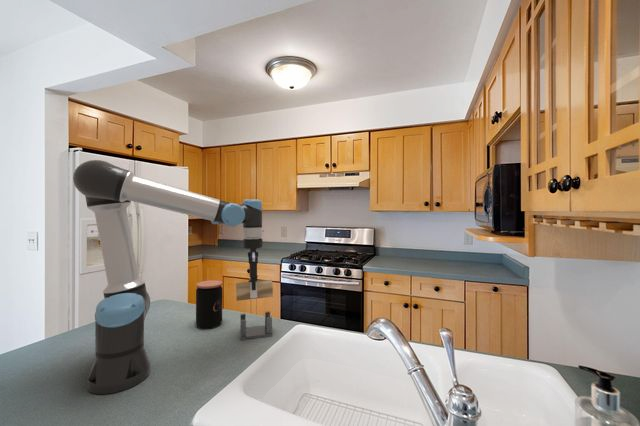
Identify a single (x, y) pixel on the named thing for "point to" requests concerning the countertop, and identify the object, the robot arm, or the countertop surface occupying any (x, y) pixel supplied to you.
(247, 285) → the block
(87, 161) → the robot arm
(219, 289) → the coffee jar
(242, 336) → the bracket
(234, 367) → the countertop surface
